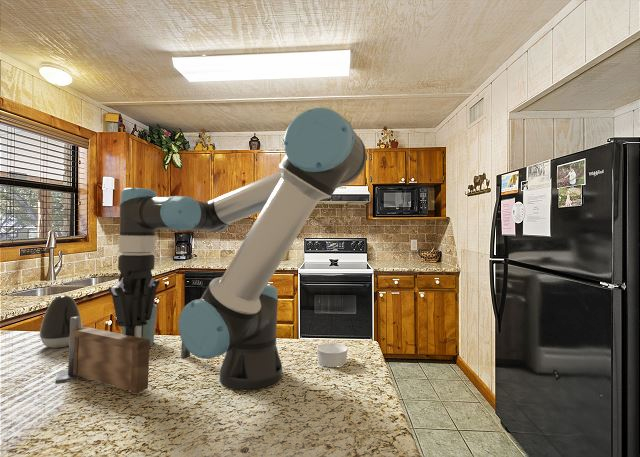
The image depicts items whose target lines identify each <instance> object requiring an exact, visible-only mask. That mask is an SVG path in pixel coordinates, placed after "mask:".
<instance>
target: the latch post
mask: <svg viewBox="0 0 640 457" xmlns="http://www.w3.org/2000/svg"><path fill="white" fill-rule="evenodd" d="M180 351H181V352H180V353H181V354H180V357H181V358H182V359H188V358H191V352H190V351H189V350H188V349H187V348H186V347H185V345H184V344H183V342H182V341H181V350H180Z"/></svg>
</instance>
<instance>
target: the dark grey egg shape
mask: <svg viewBox="0 0 640 457" xmlns="http://www.w3.org/2000/svg"><path fill="white" fill-rule="evenodd" d="M77 316H80V317H81V314H80V310H79V307H78V304H77V302H76V301H75V300H74V299H73V297H72V296H69V295H64V294H63V295H56V296H55V298H54V299H53V300H52V301H50V304H49V305H48V306H47V309H46V311H45V313H44V316H43V319H42V322H41V326H40V330H39V338H40V340H41V342H42V344H43V345H44V346H45V347H47V348H51V349H60V348H65V347H69V339H70V319H71V317H77ZM82 327H83V325H82V321H81V322H80V328H82Z"/></svg>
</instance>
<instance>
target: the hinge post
mask: <svg viewBox="0 0 640 457" xmlns="http://www.w3.org/2000/svg"><path fill="white" fill-rule="evenodd" d="M81 317H82V316H81V315H80V316H77V317H71V319H70V339H69V346H68V364H67V369H63V370H58V372H57V376H56V378H55V382H54V383H55V384H58V383H63V382H68V381H74V380H81V379H85V378H84V377H81V376H78V375H77V376H76V375H73V364H74V343H75V337H73V329H78V328H80V322H82V318H81Z"/></svg>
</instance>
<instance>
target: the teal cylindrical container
mask: <svg viewBox="0 0 640 457" xmlns="http://www.w3.org/2000/svg"><path fill="white" fill-rule="evenodd" d="M157 309H158V305H157V304H156V303H154V304H153V309H152V314H151V318H150V320H147V321H145V322H147V324H146V325H143V336H142V338H144V339H149V340H150V347H151V346H152V345H154V342H155V331H156V321H157ZM145 315H146V314H145ZM121 334H124V335H126V328H125V327H123V326H121Z"/></svg>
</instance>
